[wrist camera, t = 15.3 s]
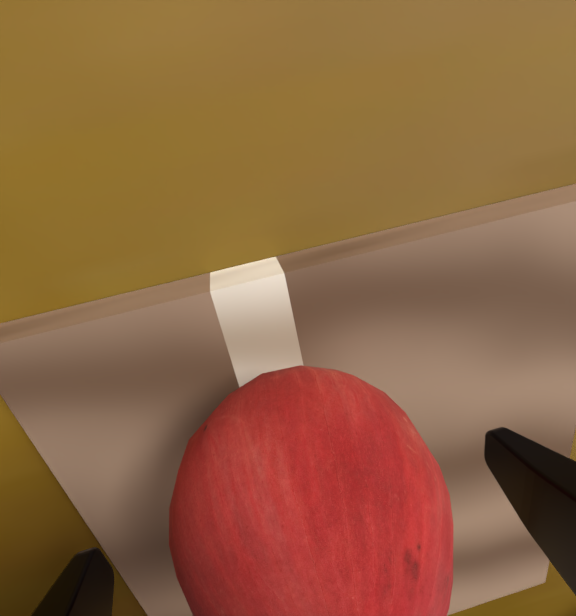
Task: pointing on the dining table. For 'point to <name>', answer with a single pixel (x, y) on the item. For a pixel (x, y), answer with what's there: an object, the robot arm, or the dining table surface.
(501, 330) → the board
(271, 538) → the onion
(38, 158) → the dining table surface
